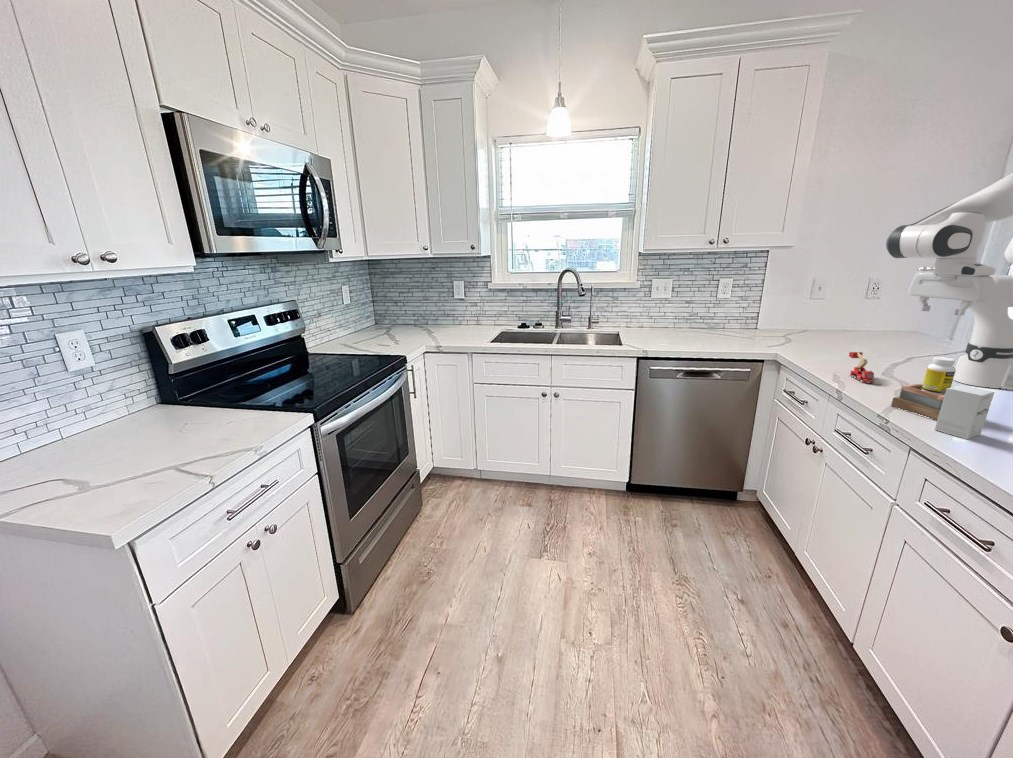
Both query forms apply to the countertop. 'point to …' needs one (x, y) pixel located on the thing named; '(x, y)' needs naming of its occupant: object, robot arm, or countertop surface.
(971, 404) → the supplement box
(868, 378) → the toy fire truck
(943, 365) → the pill bottle
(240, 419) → the countertop surface
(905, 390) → the wooden tray
